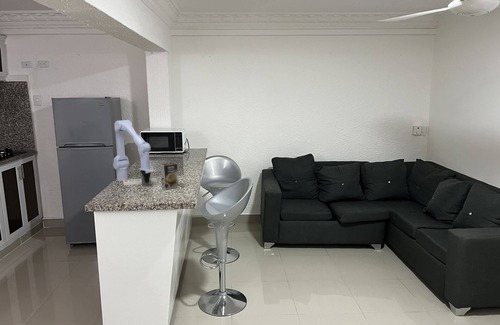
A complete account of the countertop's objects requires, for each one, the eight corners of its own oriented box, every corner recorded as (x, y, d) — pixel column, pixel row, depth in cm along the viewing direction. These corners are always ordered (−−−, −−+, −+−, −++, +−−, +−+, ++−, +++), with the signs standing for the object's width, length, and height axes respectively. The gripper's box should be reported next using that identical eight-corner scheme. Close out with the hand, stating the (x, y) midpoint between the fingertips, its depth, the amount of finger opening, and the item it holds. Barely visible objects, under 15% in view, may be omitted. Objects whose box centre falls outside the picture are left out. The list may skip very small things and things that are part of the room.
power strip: (123, 183, 260) (122, 179, 260) (155, 181, 268) (155, 176, 268) (124, 186, 252) (123, 182, 251) (157, 183, 260) (157, 179, 259)
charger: (143, 184, 255) (142, 174, 254) (150, 184, 256) (150, 174, 254) (141, 186, 250) (141, 175, 249) (149, 185, 251) (148, 175, 249)
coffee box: (165, 190, 244) (164, 165, 241) (161, 188, 249) (160, 164, 246) (178, 187, 249) (177, 163, 246) (174, 186, 254) (173, 162, 251)
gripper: (137, 160, 255) (138, 179, 257) (140, 164, 242) (141, 184, 244) (147, 159, 258) (148, 178, 260) (151, 163, 245) (152, 183, 247)
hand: (146, 181), depth 252 cm, fingers closed on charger, 6 cm apart
